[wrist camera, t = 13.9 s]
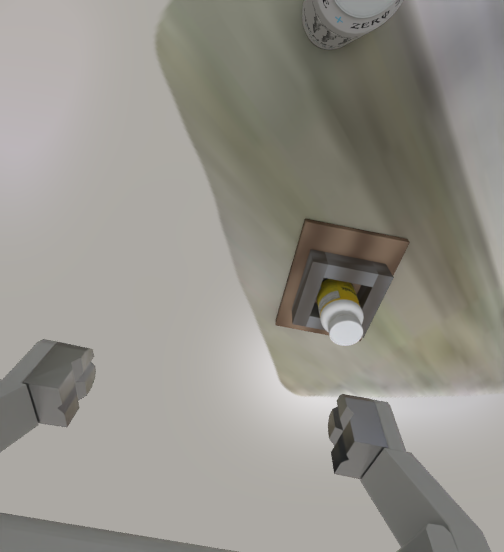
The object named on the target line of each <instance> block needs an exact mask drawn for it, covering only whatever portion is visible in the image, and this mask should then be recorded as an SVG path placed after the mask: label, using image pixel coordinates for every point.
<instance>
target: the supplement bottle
mask: <svg viewBox="0 0 504 552" xmlns="http://www.w3.org/2000/svg"><path fill="white" fill-rule="evenodd" d="M316 299H317V304H318V309H319V315H320V320H321V324H322V326H323V328H324V329H325V330H326V331H327V332H329V336H330V339H331V340H332V341H333V342H334V343H336V344H338V345H342V346H348V345H352V344H355V343H356V342H358V341H359V340H360V339H361V338H362V335H363V328H362V323H363V318H364V316H363V311H362V308H361V306H360V303H359V301H358V298H357V295H356V292H355V290H354V287H353V285H352V283H349V282H344V281H339V280H333V279H328V278H323V281H322V283H321V286H320V289H319V292H318V295H317V297H316Z"/></svg>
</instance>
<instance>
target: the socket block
mask: <svg viewBox="0 0 504 552" xmlns="http://www.w3.org/2000/svg"><path fill="white" fill-rule="evenodd" d="M409 243H410V242H409V241H408V240H407V239H404V238H399V237H394V236H389V235H384V234H379V233H374V232H369V231H364V230H359V229H354V228H349V227H344V226H339V225H334V224H329V223H324V222H319V221H314V220H309V219H305V221H304V225H303V228H302V232H301V235H300V239H299V242H298V245H297V249H296V252H295V256H294V259H293V263H292V266H291V270H290V273H289V277H288V280H287V284H286V287H285V291H284V294H283V298H282V301H281V304H280V308H279V311H278V315H277V318H276V325H277V326H283V327H288V328H293V329H299V330H304V331H309V332H314V333H320V334H325V335H329V332H327V331H326V330H325V329H324V328H323V326H322V324H321V320H320V315H319V309H318V304H317V299H316V297H317V295H318V292H319V289H320V286H321V283H322V281H323V278H328V279H333V280H339V281H344V282H349V283H352V285H353V287H354V290H355V292H356V295H357V298H358V301H359V303H360V306H361V308H362V311H363V316H364V318H363V323H362V328H363V335H362V337H363V338H364V336H365V334H366V332H367V330H368V328H369V326H370V324H371V322H372V320H373V318H374V316H375V314H376V312H377V310H378V308H379V306H380V304H381V302H382V300H383V298H384V296H385V294H386V292H387V290H388V288H389V286H390V284H391V282H392V280H393V278H394V277H393V275H394V273H395V271H396V269H397V267H398V265H399V263H400V261H401V259H402V257H403V255H404V253H405V251H406V249H407V247H408V245H409ZM361 339H362V338H361ZM361 339H360V340H359V341H361Z"/></svg>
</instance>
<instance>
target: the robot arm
mask: <svg viewBox="0 0 504 552" xmlns="http://www.w3.org/2000/svg"><path fill="white" fill-rule="evenodd" d="M93 357H94V354H93V350H92V349H90V348H85V347H80V346H76V345H71V344H66V343H61V342H56V341H51V340H45V339H43V340H41V341H39V342H37V343H36V345H34V347H33V348H32V349H31V350H30V351H29V352H28V353H27V354H26V355H25V356H24V357H23V358H22V360H20V362H19V363H18V364H17V365H16V366H15V367H14V368H13V369H12V370H11V371H10V372H9V373H8V374H7V375H6V377H5V378H4V379H3V380H1V379H0V452H1V451H3V450H4V449H6V448H7V447H8V446H10V445H11V444H12V443H14V442H15V441H17V440H18V439H19V438H21V437H22V436H23V435H25V434H26V433H28V432H29V431H30V430H32V429H33V428H35V427H36V426H38V423H41V424H48V425H55V426H62V427H68V425H69V424H70V422H71V420H72V418H73V417H74V416H75V414H76V412H77V410H78V409H79V403H78V400H80V399H82V398H83V397H85V396H87V394H88V393H89V391H90V389H91V388H92V384H93V382H94V379H95V374H96V369H95V366H94V364H93V363H92V362H91V360H92V359H93ZM337 405H338V407H336V408H334V409H332V411H331V413H330V416H329V422H328V434H329V439H330V440H331V442H332V443H333V444H334V448H333V450H332V452H331V456H332V462H333V469H334V474H337V475H342V476H348V477H352V478H358V479H361V483H362V484H363V486H364V488H365V489H366V491H367V492H368V494H369V496H370V497H371V499H372V500H373V502H374V504H375V505H376V507H377V509H378V510H379V512H380V514H381V515H382V517H383V518H384V520H385V522H386V523H387V525H388V526H389V528H390V530H391V531H392V533H393V535H394V536H395V538H396V539H397V541H398V543H399V544H400V546H401V548H400V549H399V550H398V551H397V552H491V550H490V548H489V546H488V544H487V541H486V539H485V537H484V535H483V532H482V531H481V530H480V529H479V527H478V526H477V525H476V524H475V523H474V522H473V521H472V520H471V519H470V517H469V516H468V515H467V514H466V513H465V512H464V511H463V510H462V509H461V507H460V506H459V505H457V503H456V502H455V501H454V500H453V499H452V498H451V496H450V495H449V494H448V493H447V492H446V491H445V490H444V489H443V488H442V486H441V485H440V484H439V483H438V482H437V481H436V480H435V479H434V478H433V476H431V474H430V473H429V472H428V471H427V470H426V469H425V468H424V467H423V465H421V463H420V462H419V461H418V460H417V459H416V458H415V457H414V455H413V454H412V453H410V452H406V449H405V447H404V444H403V441H402V438H401V435H400V433H399V429H398V427H397V424H396V421H395V418H394V415H393V412H392V410H391V407H390V405H389V404H388V402H383V401H377V400H371V399H368V398H362V397H356V396H350V395H345V394H342V395H340V396H339V398H338V400H337ZM0 552H237V551H231V550H225V549H218V548H212V547H206V546H200V545H194V544H188V543H182V542H176V541H170V540H164V539H158V538H152V537H145V536H139V535H133V534H127V533H121V532H115V531H109V530H103V529H97V528H90V527H85V526H79V525H72V524H66V523H60V522H54V521H48V520H42V519H36V518H30V517H24V516H17V515H12V514H5V513H0Z"/></svg>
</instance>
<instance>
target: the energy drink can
mask: <svg viewBox="0 0 504 552" xmlns="http://www.w3.org/2000/svg"><path fill="white" fill-rule="evenodd" d="M402 2H403V0H304V2H303V8H302V21H303V26H304V29H305V32H306V34H307V36H308V38H309V39H310V40H311V41H312V42H313V43H314V44H315V45H316V46H318V47H320V48H323V49H328V50H332V49H338V48H340V47H343V46H345V45H347V44H348V43H350V42H352V41H354V40H356V39H358V38H360V37H361V36H363V35H365V34H367V33H369V32H371V31H372V30H374V29H376V28H378V27H379V26H381V25H382V24H384V23H385V22H386V21H387V20H388V19H389V18H391V17H392V15H393V14H394V13H395V12H396V11H397V9H398V8H399V7H400V5H401V3H402Z"/></svg>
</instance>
